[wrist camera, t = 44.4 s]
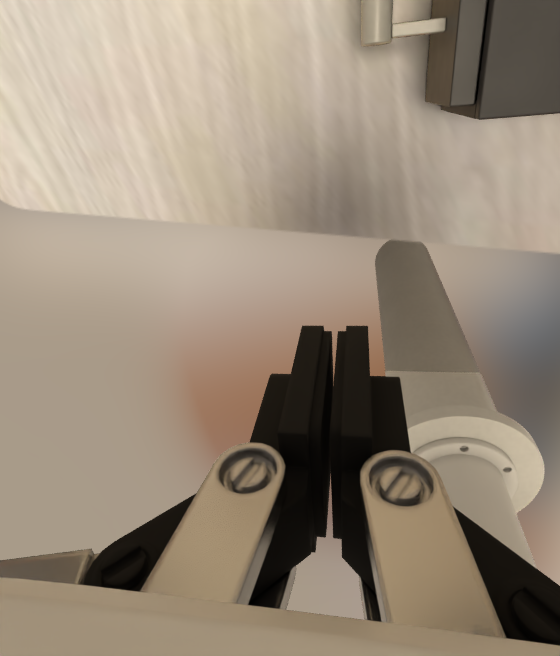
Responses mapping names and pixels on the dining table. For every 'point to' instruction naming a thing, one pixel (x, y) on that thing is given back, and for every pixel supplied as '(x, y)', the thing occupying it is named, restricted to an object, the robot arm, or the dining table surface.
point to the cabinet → (518, 61)
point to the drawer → (438, 44)
